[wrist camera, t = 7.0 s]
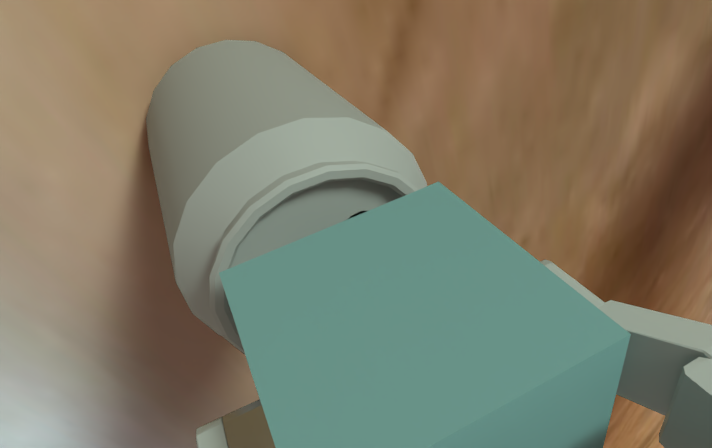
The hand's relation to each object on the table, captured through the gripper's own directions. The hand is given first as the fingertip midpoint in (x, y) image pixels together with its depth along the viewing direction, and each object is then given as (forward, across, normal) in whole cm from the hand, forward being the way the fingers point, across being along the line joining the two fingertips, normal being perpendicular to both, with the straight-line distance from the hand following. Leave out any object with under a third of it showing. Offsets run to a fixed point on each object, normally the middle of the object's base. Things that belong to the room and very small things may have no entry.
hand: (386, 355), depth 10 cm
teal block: (+2, 0, 0) cm, 2 cm away
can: (+15, 0, 0) cm, 15 cm away
